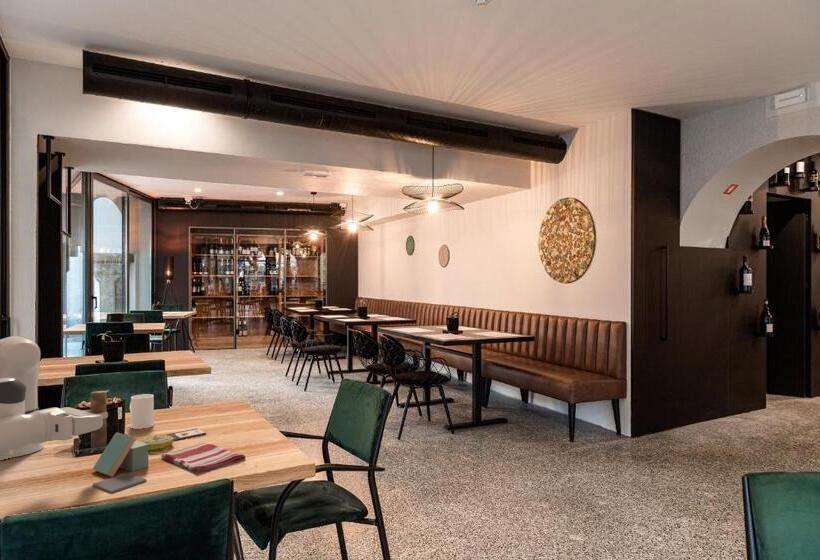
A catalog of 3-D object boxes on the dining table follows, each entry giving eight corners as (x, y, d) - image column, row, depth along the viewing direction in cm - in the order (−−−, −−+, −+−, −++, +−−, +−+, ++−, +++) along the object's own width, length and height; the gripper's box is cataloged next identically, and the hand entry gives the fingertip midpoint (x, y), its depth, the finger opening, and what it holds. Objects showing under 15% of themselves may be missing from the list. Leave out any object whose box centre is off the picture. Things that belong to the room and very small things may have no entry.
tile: (107, 474, 157) (131, 436, 163) (91, 469, 161) (115, 431, 168) (112, 477, 158) (136, 438, 164) (96, 471, 163) (120, 434, 169)
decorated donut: (172, 441, 192) (172, 431, 192) (174, 450, 182) (174, 439, 182) (140, 446, 187) (140, 435, 187) (140, 455, 178) (140, 443, 178)
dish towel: (197, 476, 159) (197, 467, 159) (159, 460, 174) (159, 452, 174) (246, 461, 172) (246, 452, 172) (207, 446, 187) (207, 439, 187)
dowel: (88, 448, 157) (88, 394, 156) (94, 444, 160) (93, 391, 160) (103, 447, 157) (103, 393, 157) (108, 443, 161) (108, 390, 161)
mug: (121, 426, 212) (121, 396, 212) (142, 421, 220) (142, 392, 220) (138, 430, 206) (137, 399, 206) (159, 425, 213) (158, 395, 213)
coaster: (111, 493, 146) (111, 491, 146) (92, 485, 151) (92, 483, 151) (146, 481, 154) (146, 479, 154) (127, 474, 160) (127, 472, 160)
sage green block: (132, 471, 162) (132, 448, 162) (113, 465, 168) (112, 442, 168) (148, 466, 166) (148, 444, 166) (128, 460, 172) (128, 438, 172)
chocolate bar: (147, 438, 194) (197, 428, 207) (147, 440, 194) (197, 430, 207) (155, 443, 188) (206, 433, 200) (155, 446, 188) (206, 435, 200)
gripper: (33, 430, 153) (83, 419, 165) (69, 441, 143) (120, 428, 154) (33, 408, 153) (83, 398, 165) (69, 417, 142) (120, 406, 154)
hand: (101, 413), depth 160 cm, fingers closed on dowel, 4 cm apart
